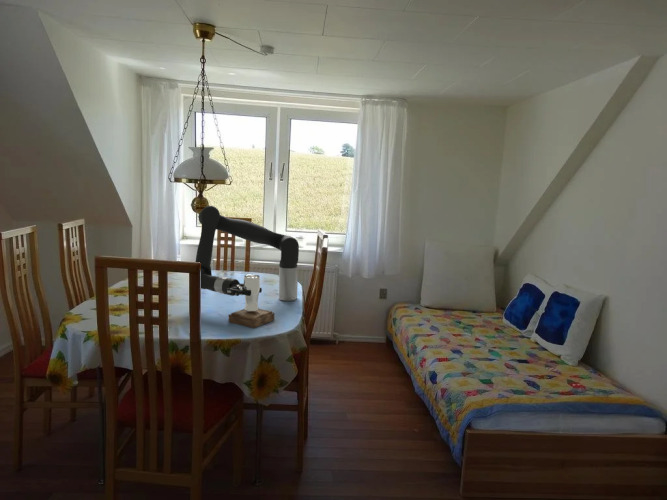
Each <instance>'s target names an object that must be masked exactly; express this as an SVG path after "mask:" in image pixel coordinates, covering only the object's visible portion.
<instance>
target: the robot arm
mask: <svg viewBox="0 0 667 500" xmlns="http://www.w3.org/2000/svg"><path fill="white" fill-rule="evenodd" d="M198 221H199V223H200V224H201V233H200V238H199V241H198V245H197V250H196V256H195V262H200V263H201V290H209V291H211V292H215V293H220V294H222V295H226V296H231V297H233V296H236V297H239V296H245V295H246V296H251V291H249V290H244V283H240V281H239V280H238V279H236V278H232V277H226V276H225V277H223V276H216V275H212V267H211V264H212V257H213V256H212V255H213V250H214V249H213V247H214V239H215V235H216V231H222V232H224V233H227V234H230V235H232V236H234V237H238V238H241V239H243V240H246V241H249V242H252V243H255V244H261V245H266V246H270V247H272V248H275V249H277V250H279V251H280V260H279V263H278V265H279V268H278V270H279V271H278V272H279V273H278V274H279V275H278V277H279V278H278V279H279V280H278V300H279V301H284V302H293V301H296V300H297V298H298V263H299V254H300V253H299V252H300V249H299V248H300V244H299V242H298V240H297V239H296V238H295V237H293V236H291V235H287V234H282V233H279V232H275V231H272V230H270V229H268V228H266V227H264V226H262V225H259V224H257V223H254V222H252V221H248V220H245V219H244V220H243V219H238V218H237V219H236V218H231V217H230V218H229V217H227V216H224V215H222V214H220V210H219V209H218V208H217V207H215V205H214V206H213V205H207V206H205V207H203V208H202V210H200V212H199V214H198ZM262 290H263V289H262V287H260V291H259V294H260V293H262Z"/></svg>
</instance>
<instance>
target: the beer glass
mask: <svg viewBox="0 0 667 500" xmlns="http://www.w3.org/2000/svg"><path fill="white" fill-rule="evenodd" d="M243 277H244V278H243V284H244V290H249V291H251V296H246V295H244V301H245V304H244V308H243V309H244V310H245V311H257V310H258V309H260V308H259V303H258V302H259V295H260V293H259V291H260V288H261V281H260V280H261V278H260V275H258V274H246V275H244V276H243Z"/></svg>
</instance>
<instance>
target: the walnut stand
mask: <svg viewBox="0 0 667 500" xmlns="http://www.w3.org/2000/svg"><path fill="white" fill-rule="evenodd" d="M273 321H275V312H272V310H268V309H263V308H259V309H258V310H257V311H245V310H244V308H243V309H239V310H237V311H233V312H231V313H230V314H228V323H231V324H235V325H240V326H243V327H246V328H247V327H248V328H252V329H255V328H258V327H261V326H262V325H266V324H268V323H270V322H273Z"/></svg>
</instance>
